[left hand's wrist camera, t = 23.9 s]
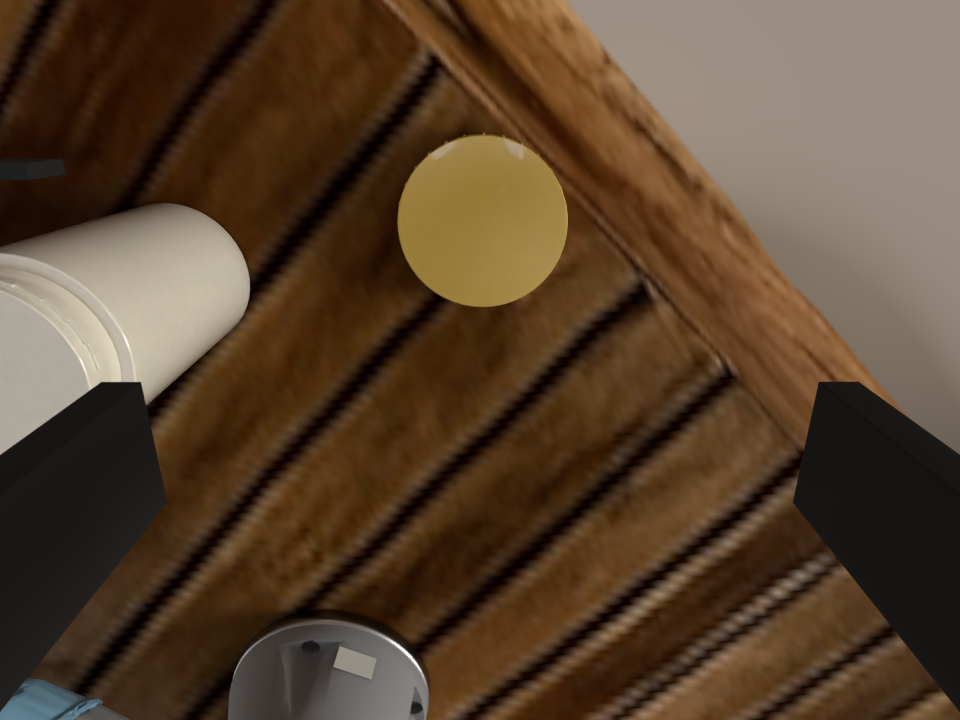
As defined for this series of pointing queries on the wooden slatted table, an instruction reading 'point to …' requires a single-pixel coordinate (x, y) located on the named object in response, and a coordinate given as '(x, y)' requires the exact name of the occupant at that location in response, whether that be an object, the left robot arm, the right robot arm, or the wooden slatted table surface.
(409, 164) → the wooden slatted table surface
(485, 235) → the lid
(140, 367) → the jar
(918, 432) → the left robot arm
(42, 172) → the right robot arm
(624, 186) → the wooden slatted table surface
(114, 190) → the wooden slatted table surface
